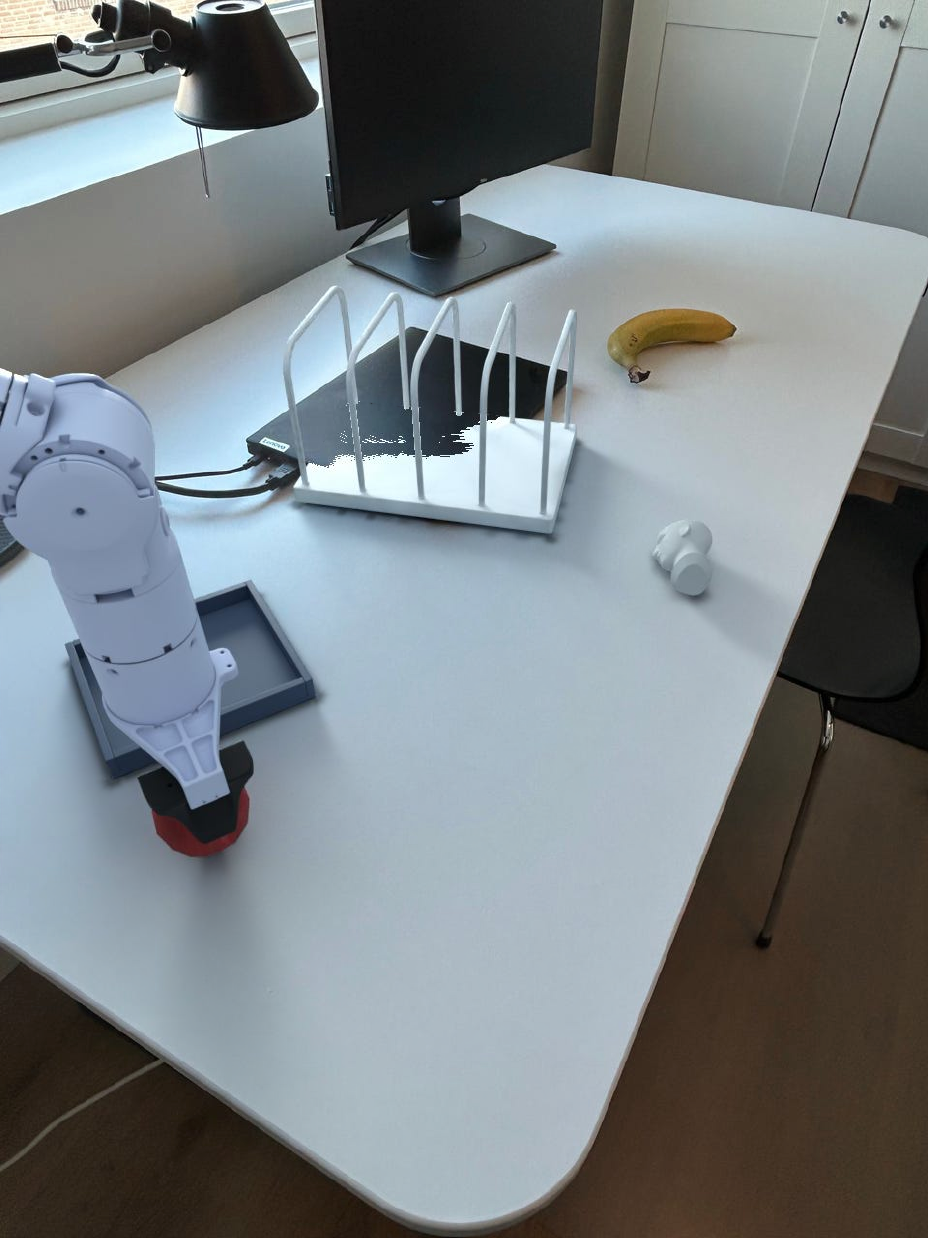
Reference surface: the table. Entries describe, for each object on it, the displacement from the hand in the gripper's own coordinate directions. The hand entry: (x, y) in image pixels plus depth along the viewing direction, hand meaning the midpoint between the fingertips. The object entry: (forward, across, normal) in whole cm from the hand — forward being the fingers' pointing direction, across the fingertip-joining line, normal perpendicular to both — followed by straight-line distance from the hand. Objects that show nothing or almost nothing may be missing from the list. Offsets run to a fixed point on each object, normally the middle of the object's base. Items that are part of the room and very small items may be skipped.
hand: (197, 786), depth 53 cm
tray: (+6, +15, -3) cm, 16 cm away
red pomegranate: (+6, 0, 0) cm, 6 cm away
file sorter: (+6, +30, -34) cm, 46 cm away
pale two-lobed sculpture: (+6, +6, -44) cm, 45 cm away
